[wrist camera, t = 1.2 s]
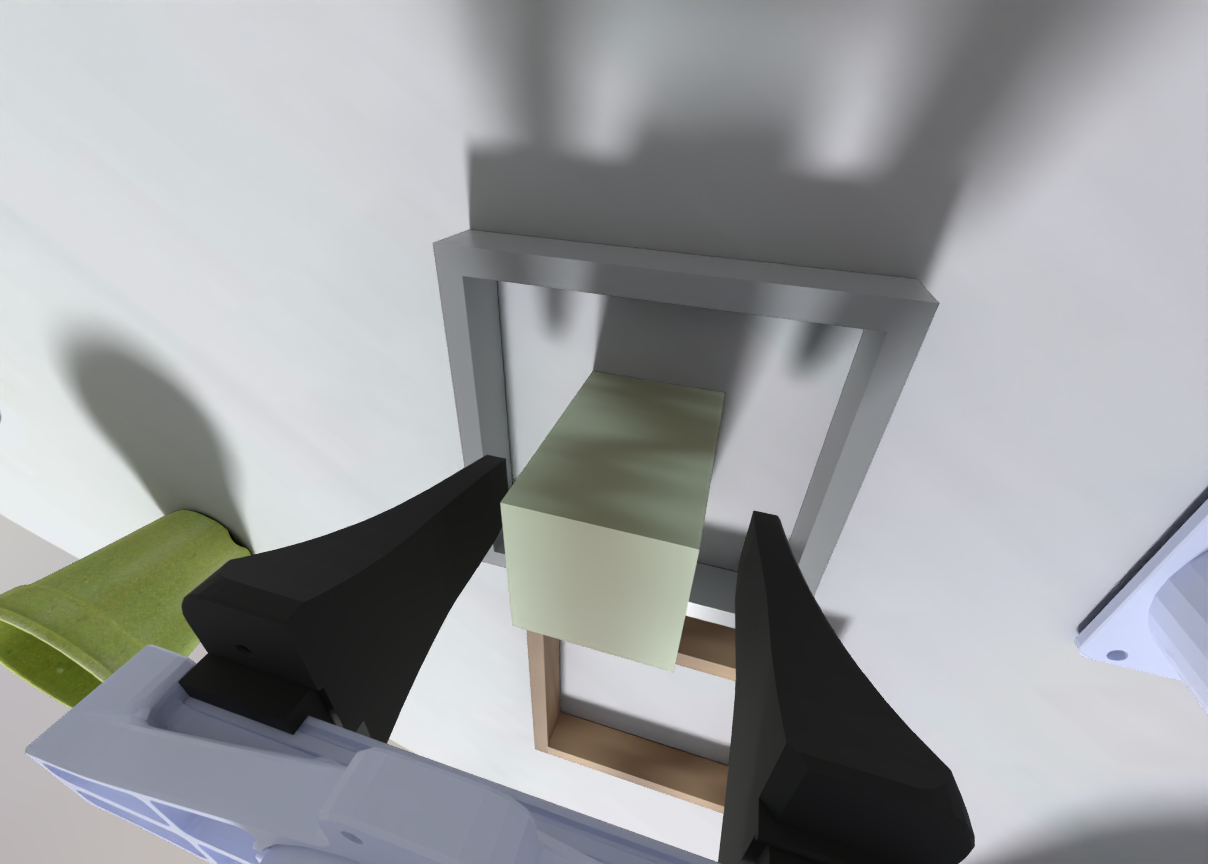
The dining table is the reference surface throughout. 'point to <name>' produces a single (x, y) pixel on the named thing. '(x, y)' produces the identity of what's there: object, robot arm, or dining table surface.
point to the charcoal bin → (759, 288)
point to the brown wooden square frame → (624, 752)
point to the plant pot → (111, 605)
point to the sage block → (614, 518)
